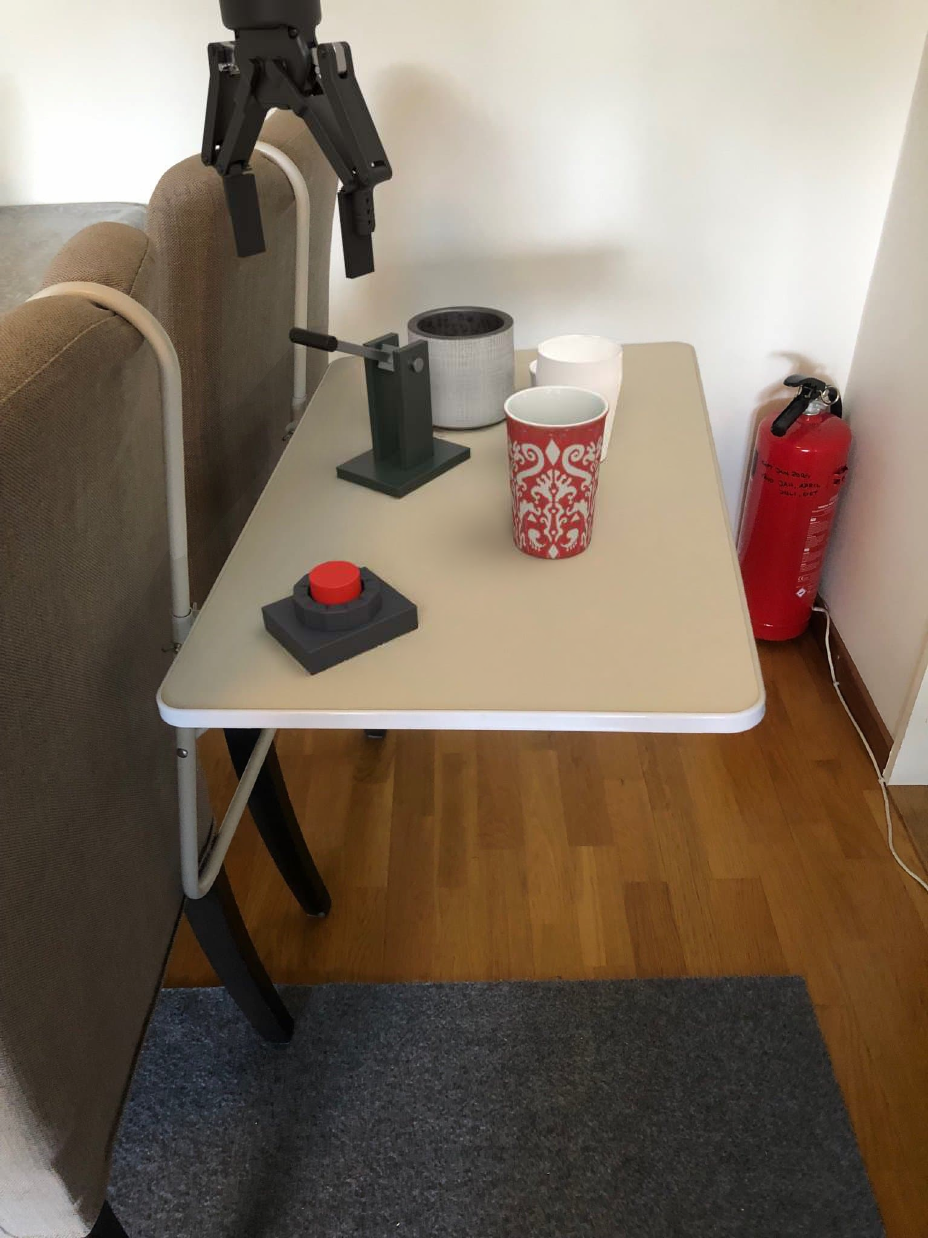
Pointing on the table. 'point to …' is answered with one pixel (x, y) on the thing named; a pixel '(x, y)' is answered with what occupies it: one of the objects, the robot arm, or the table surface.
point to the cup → (583, 369)
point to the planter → (467, 364)
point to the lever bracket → (401, 425)
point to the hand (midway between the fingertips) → (303, 264)
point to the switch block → (338, 622)
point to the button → (335, 582)
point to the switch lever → (342, 346)
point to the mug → (554, 467)
